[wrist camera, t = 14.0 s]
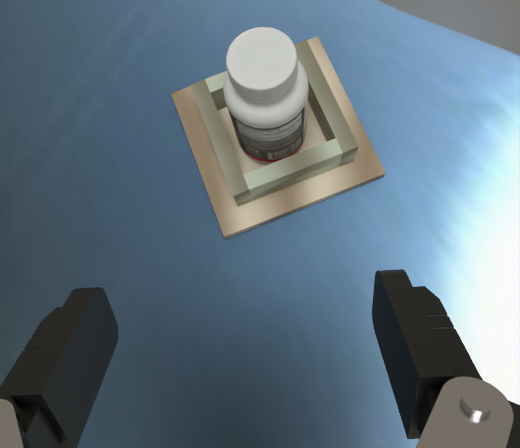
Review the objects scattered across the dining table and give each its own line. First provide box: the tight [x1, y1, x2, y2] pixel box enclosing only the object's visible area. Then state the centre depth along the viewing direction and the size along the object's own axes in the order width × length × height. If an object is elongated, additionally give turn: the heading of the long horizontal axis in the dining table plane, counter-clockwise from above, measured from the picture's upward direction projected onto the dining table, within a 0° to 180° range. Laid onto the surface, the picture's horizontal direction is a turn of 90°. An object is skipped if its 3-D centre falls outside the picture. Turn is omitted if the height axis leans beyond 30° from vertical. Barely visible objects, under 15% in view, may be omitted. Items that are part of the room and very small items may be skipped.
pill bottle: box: [223, 27, 309, 165], centre depth 27 cm, size 5×5×10 cm
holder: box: [171, 36, 385, 239], centre depth 31 cm, size 13×13×4 cm
